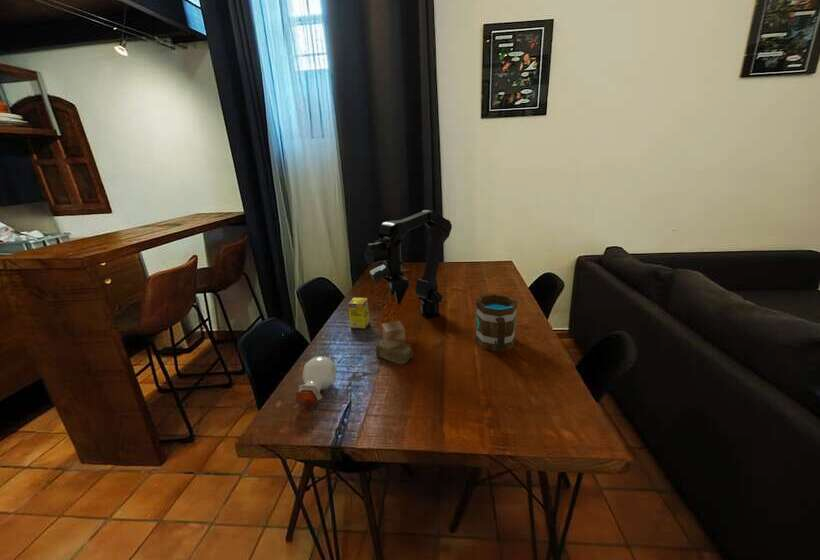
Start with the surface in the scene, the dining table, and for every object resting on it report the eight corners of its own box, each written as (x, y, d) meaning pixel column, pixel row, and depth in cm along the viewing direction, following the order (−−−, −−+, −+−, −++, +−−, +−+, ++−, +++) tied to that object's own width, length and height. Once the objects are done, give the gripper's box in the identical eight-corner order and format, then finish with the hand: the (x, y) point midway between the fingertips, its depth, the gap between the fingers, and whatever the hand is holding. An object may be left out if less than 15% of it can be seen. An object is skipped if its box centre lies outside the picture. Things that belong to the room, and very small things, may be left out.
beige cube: (400, 336, 115) (399, 320, 113) (405, 345, 110) (404, 328, 108) (383, 340, 114) (381, 323, 112) (387, 348, 108) (385, 331, 106)
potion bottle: (333, 379, 105) (315, 418, 92) (304, 363, 104) (282, 401, 90) (346, 359, 101) (330, 398, 88) (317, 343, 99) (296, 380, 86)
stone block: (385, 349, 118) (384, 336, 116) (414, 358, 112) (413, 344, 110) (375, 357, 113) (373, 343, 112) (404, 366, 107) (403, 353, 106)
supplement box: (365, 330, 131) (362, 303, 128) (350, 329, 132) (347, 303, 129) (370, 323, 137) (367, 297, 133) (356, 322, 138) (353, 297, 134)
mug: (473, 331, 126) (474, 293, 121) (511, 332, 124) (513, 293, 119) (478, 362, 107) (479, 318, 102) (522, 362, 106) (526, 318, 101)
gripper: (366, 254, 128) (369, 293, 133) (375, 268, 111) (379, 312, 116) (395, 250, 130) (397, 289, 136) (408, 263, 114) (411, 307, 119)
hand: (395, 298), depth 126 cm, fingers open, 9 cm apart
